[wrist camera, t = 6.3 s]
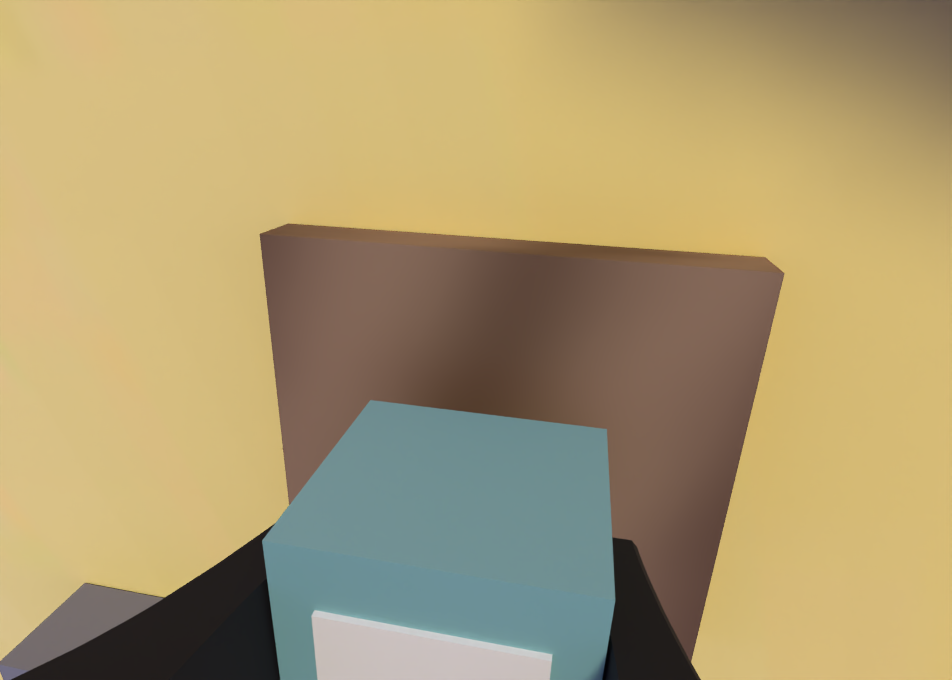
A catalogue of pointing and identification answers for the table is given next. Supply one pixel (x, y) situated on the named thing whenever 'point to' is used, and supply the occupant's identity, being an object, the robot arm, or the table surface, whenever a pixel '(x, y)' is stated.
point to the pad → (536, 363)
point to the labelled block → (447, 552)
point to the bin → (74, 626)
